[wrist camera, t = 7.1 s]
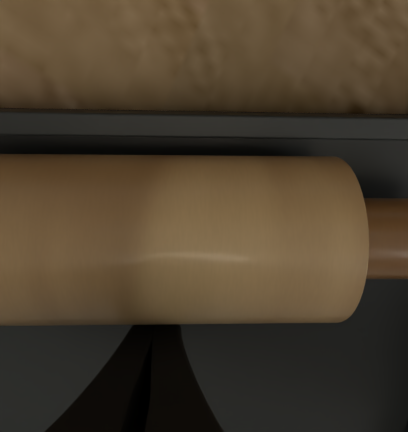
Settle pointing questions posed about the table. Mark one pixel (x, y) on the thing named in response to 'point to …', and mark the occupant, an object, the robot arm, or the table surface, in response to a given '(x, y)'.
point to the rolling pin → (190, 239)
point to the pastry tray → (230, 333)
